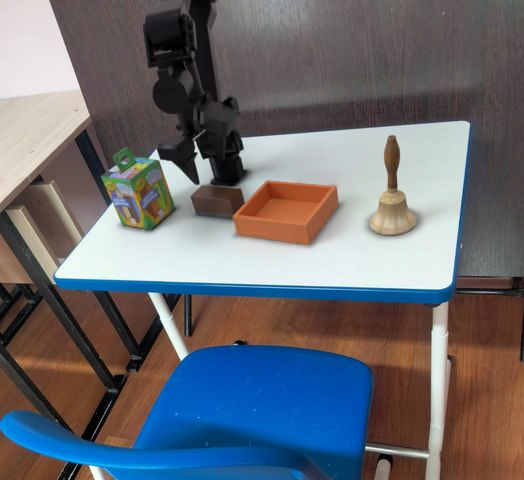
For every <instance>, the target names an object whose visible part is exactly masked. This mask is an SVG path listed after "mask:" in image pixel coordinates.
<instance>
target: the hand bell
mask: <svg viewBox="0 0 524 480" xmlns="http://www.w3.org/2000/svg"><path fill="white" fill-rule="evenodd" d="M383 161H384V166H385V170H386V174H387V185H386V186H387V190H385V191H384V192H382V193H381V194H380V196H379V199H378V207H377V211H376V212H375V213H374V214H373V215H372V216H371V218H370V220H369V228H370V229H371V231H373V232H374V233H375V234H380V235H383V236H397V235H402V234H406V233H407V232H409V231H411V230H412V229H414V228H415V227H416V225H417V224H418V218H417V215H415V213H414V212H413V211H412V210H410V208H409V207H408V203H407V202H408V201H407V195H406V193H405V192H404V191H402V190H399V189H398V187H399V186H398V171H399V166H400V163H401V149H400V144H399V143H398V141H397V136H396V135H394V134H391V135H389V136H387V139H386V143H385V146H384V150H383Z"/></svg>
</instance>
